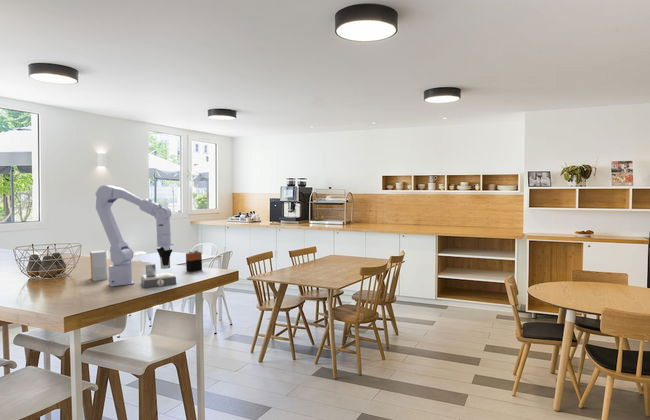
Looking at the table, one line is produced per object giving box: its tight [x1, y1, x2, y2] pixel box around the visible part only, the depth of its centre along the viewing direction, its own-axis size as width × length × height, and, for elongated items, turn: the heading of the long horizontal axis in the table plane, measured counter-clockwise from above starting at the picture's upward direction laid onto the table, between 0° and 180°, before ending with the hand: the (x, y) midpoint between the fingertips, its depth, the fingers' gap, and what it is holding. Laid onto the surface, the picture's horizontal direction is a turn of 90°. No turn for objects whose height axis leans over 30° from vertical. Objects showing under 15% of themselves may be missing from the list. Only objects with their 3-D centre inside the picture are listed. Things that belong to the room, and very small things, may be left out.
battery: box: [185, 250, 203, 273], centre depth 226 cm, size 4×7×10 cm, turn 141°
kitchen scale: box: [140, 272, 177, 289], centre depth 196 cm, size 13×12×4 cm
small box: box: [89, 249, 108, 282], centre depth 211 cm, size 8×6×13 cm
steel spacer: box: [159, 256, 171, 270], centre depth 198 cm, size 4×4×5 cm
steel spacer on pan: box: [145, 263, 157, 277], centre depth 195 cm, size 4×4×5 cm
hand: (164, 264), depth 198 cm, fingers closed on steel spacer, 4 cm apart
